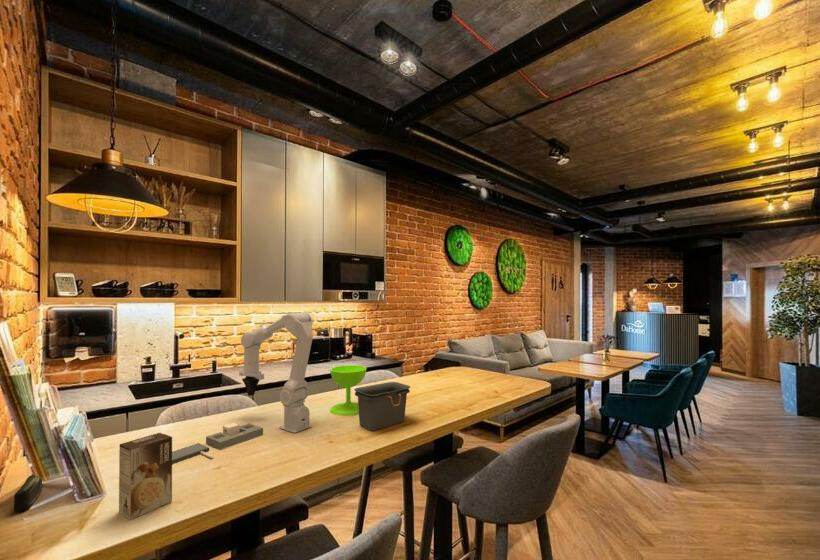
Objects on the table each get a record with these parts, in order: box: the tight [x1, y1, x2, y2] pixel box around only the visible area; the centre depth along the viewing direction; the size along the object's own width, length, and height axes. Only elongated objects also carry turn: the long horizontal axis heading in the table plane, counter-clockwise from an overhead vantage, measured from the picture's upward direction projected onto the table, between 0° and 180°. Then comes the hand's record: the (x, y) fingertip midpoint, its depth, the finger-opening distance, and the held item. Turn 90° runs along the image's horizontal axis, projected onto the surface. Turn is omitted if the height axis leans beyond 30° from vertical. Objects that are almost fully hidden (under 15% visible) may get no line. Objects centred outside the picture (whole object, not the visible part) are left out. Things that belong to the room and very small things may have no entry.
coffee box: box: [118, 432, 173, 520], centre depth 91 cm, size 9×6×16 cm
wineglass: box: [329, 364, 367, 416], centre depth 166 cm, size 16×16×18 cm
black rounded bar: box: [13, 473, 44, 513], centre depth 94 cm, size 5×3×15 cm
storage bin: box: [353, 381, 411, 431], centre depth 147 cm, size 21×16×14 cm
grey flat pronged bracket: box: [172, 442, 214, 465], centre depth 117 cm, size 14×13×1 cm
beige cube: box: [222, 422, 240, 436], centre depth 134 cm, size 4×4×4 cm
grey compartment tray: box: [205, 422, 264, 450], centre depth 132 cm, size 9×16×2 cm, turn 146°
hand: (251, 395), depth 153 cm, fingers closed
